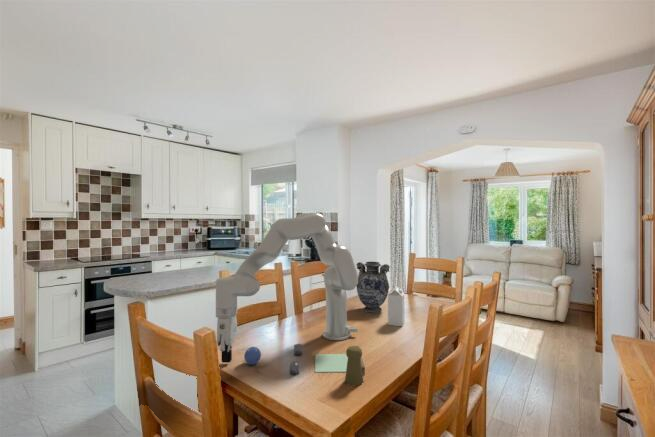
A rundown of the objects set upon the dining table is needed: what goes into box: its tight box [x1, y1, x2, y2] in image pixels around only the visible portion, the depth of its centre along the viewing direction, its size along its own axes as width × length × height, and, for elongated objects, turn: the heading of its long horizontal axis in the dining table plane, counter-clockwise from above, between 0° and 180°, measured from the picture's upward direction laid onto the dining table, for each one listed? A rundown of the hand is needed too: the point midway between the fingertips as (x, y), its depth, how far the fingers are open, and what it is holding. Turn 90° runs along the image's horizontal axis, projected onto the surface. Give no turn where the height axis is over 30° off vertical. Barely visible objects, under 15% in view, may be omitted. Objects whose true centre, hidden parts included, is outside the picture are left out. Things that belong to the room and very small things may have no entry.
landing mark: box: [314, 353, 348, 373], centre depth 114 cm, size 14×14×1 cm
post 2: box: [289, 360, 300, 377], centre depth 106 cm, size 3×3×4 cm
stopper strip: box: [357, 345, 366, 376], centre depth 114 cm, size 2×18×2 cm, turn 1°
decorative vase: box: [356, 261, 391, 314], centre depth 180 cm, size 21×19×28 cm
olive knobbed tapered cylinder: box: [344, 345, 364, 387], centre depth 101 cm, size 6×6×11 cm
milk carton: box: [387, 285, 405, 327], centre depth 157 cm, size 7×7×19 cm
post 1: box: [293, 343, 303, 357], centre depth 121 cm, size 3×3×4 cm
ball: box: [243, 346, 262, 366], centre depth 113 cm, size 6×6×6 cm
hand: (226, 361), depth 113 cm, fingers closed
